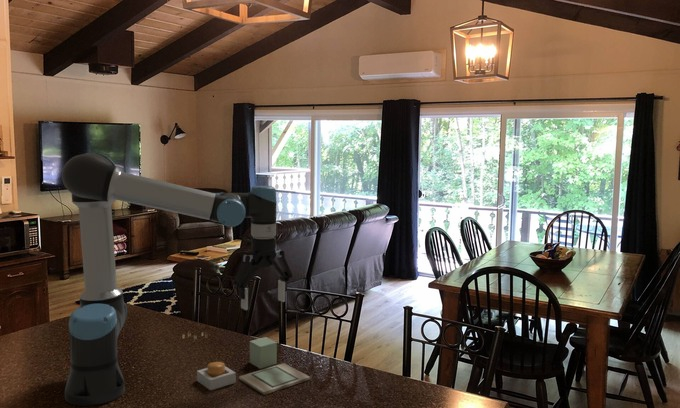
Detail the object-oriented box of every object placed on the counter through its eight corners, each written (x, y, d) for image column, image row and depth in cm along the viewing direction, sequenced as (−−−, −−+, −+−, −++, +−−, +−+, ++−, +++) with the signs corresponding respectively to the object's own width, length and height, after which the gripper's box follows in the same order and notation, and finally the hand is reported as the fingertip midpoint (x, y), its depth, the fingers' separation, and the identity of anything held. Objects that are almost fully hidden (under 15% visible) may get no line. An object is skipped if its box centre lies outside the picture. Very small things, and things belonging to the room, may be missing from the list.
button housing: (210, 390, 159) (210, 380, 159) (196, 380, 165) (196, 370, 165) (235, 382, 164) (235, 372, 164) (221, 373, 170) (221, 363, 170)
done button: (212, 380, 161) (212, 369, 161) (204, 374, 165) (204, 364, 164) (227, 375, 164) (227, 365, 164) (219, 370, 168) (219, 360, 168)
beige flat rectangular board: (264, 394, 157) (264, 391, 157) (239, 379, 167) (239, 376, 167) (309, 379, 168) (310, 376, 168) (283, 365, 177) (283, 362, 177)
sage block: (260, 368, 175) (260, 346, 174) (249, 362, 179) (249, 341, 178) (276, 364, 179) (276, 342, 178) (265, 358, 183) (265, 337, 182)
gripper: (234, 243, 163) (234, 315, 166) (303, 234, 179) (303, 300, 182) (220, 239, 169) (221, 309, 171) (289, 231, 185) (289, 295, 188)
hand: (263, 304), depth 177 cm, fingers open, 13 cm apart
